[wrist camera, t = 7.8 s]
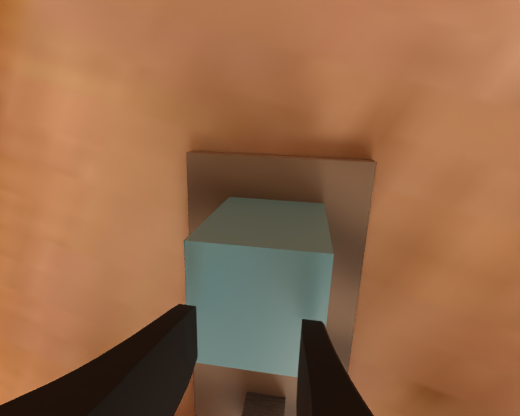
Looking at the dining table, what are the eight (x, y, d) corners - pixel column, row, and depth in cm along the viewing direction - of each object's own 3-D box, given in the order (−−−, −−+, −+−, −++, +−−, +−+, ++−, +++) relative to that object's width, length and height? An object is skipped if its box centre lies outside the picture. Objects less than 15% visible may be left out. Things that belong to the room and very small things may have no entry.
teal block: (316, 289, 18) (320, 380, 12) (228, 280, 19) (188, 361, 12) (324, 203, 17) (333, 253, 10) (229, 196, 17) (183, 240, 11)
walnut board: (332, 461, 23) (333, 476, 22) (200, 438, 24) (196, 451, 23) (372, 159, 17) (376, 162, 16) (192, 151, 18) (186, 152, 17)
